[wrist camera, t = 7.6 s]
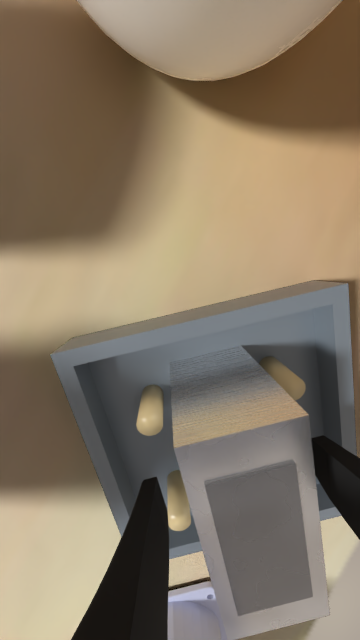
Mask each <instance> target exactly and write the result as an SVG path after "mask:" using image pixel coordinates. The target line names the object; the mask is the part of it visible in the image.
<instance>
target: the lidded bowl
mask: <svg viewBox="0 0 360 640" xmlns="http://www.w3.org/2000/svg"><path fill="white" fill-rule="evenodd" d="M77 2H78V3H79V4H80V6H81V7H82V8H83V9H84V11H85V12H86V13H87V14H88V15H89V16H90V18H91V19H92V20H93V21H94V22H95V23H96V24H97V25H98V26H99V28H100V29H101V30H102V31H103V32H104V33H105V34H106V35H107V36H108V37H109V38H111V39H112V40H113V41H114V42H115V43H117V44H118V45H119V46H120V47H121V48H123V49H124V50H125V51H126V52H128V53H129V54H130V55H131V56H133V57H134V58H136V59H137V60H139V61H141V62H142V63H144V64H146V65H147V66H149V67H151V68H152V69H154V70H157V71H159V72H162V73H164V74H167V75H170V76H172V77H176V78H181V79H186V80H192V81H216V80H220V79H225V78H230V77H235V76H238V75H241V74H244V73H246V72H248V71H251V70H253V69H256V68H258V67H261V66H263V65H265V64H266V63H268V62H270V61H271V60H273V59H274V58H276V57H277V56H279V55H281V54H282V53H284V52H285V51H287V50H288V49H289V48H291V47H292V46H293V45H295V44H296V43H297V42H299V41H300V40H301V39H303V38H304V37H305V36H306V35H307V34H308V33H309V32H311V31H312V30H313V29H314V28H315V27H316V26H317V25H318V24H320V23H321V22H322V21H323V20H324V19H325V18H326V17H327V16H328V15H329V14H330V13H331V12H332V11H333V10H334V9H335V8H336V7H337V6H338V5H339V4H340V3H341V2H342V0H77Z"/></svg>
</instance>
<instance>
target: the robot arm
mask: <svg viewBox="0 0 360 640" xmlns="http://www.w3.org/2000/svg"><path fill="white" fill-rule="evenodd" d="M311 440H312V449H313V459H314V468H315V476H316V477H317V479H318V481H319V482H320V484H321V486H322V487H323V489H324V491H325V492H326V494H327V495H328V497H329V499H330V500H331V502H332V503H333V504H334V506H335V507H336V508H337V510H338V511H339V512H340V514H341V515H342V517H343V518H344V519H345V521H346V522H347V523H348V525H349V526H350V527H351V529H352V530H353V531H354V533H355V534H356V535H357V537H358V538H359V539H360V458H359V457H357V456H355V455H354V454H352V453H351V452H349V451H348V450H346V449H344V448H343V447H341V446H340V445H338V444H337V443H335V442H334V441H332V440H330V439H329V438H327V437H326V436H324V435H322V436H318V437H314V438H311ZM168 583H169V525H168V511H167V507H166V504H165V501H164V498H163V495H162V492H161V488H160V485H159V482H158V479H157V477H153V478H149V479H145V480H143V482H142V484H141V487H140V490H139V493H138V496H137V499H136V502H135V504H134V507H133V510H132V512H131V515H130V518H129V520H128V523H127V525H126V528H125V530H124V533H123V535H122V538H121V540H120V542H119V545H118V547H117V549H116V552H115V554H114V556H113V558H112V561H111V563H110V565H109V567H108V569H107V572H106V574H105V576H104V578H103V580H102V582H101V584H100V586H99V588H98V590H97V592H96V594H95V596H94V598H93V600H92V602H91V604H90V606H89V608H88V610H87V611H86V613H85V615H84V617H83V619H82V621H81V622H80V624H79V626H78V628H77V630H76V632H75V633H74V635H73V637H72V639H71V640H228V639H227V635H226V632H225V628H224V625H223V621H222V618H221V614H220V611H219V607H218V604H217V600H216V596H215V593H214V589H213V586H212V582H211V581H206V582H202V583H199V584H195V585H191V586H187V587H183V588H179V589H175V590H171V591H168Z"/></svg>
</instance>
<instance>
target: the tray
mask: <svg viewBox="0 0 360 640" xmlns="http://www.w3.org/2000/svg"><path fill="white" fill-rule="evenodd" d="M240 345H241V346H242V347H243V348H244V349H245V350H246V351H247V352H248V353H249V354H250V355H251V357H252V358H253V359H254V360H255V361H256V362H257V363H258V364H259V365H260V366H261V367H262V368H263V369H264V370H265V371H266V372H267V373H268V374H269V375H270V376H271V377H272V378H273V379H274V380H275V381H276V382H277V383H278V384H279V385H280V386H281V387H282V388H283V389H284V390H285V391H286V392H287V393H288V394H289V395H290V396H291V397H292V398H293V399H294V400H295V401H296V402H297V403H298V404H299V405H300V406H301V407H302V408H303V409H304V410H305V412H306V413H307V414H308V415H309V421H310V430H311V438H314V437H318V436H322V435H324V436H326V437H327V438H329V439H330V440H332V441H334V442H335V443H337V444H338V445H340V446H341V447H343V448H344V449H346V450H348V451H349V452H351V453H352V454H354V455H355V456H357V450H356V429H355V409H354V389H353V369H352V348H351V328H350V308H349V288H348V283H339V282H327V281H315V280H313V281H309V282H304V283H300V284H296V285H292V286H288V287H283V288H279V289H275V290H271V291H267V292H262V293H258V294H254V295H250V296H246V297H241V298H237V299H233V300H229V301H225V302H220V303H216V304H212V305H208V306H204V307H200V308H195V309H191V310H187V311H183V312H179V313H174V314H170V315H166V316H162V317H158V318H153V319H149V320H145V321H141V322H137V323H132V324H128V325H124V326H120V327H116V328H111V329H107V330H103V331H99V332H95V333H90V334H86V335H82V336H78V337H74V338H71V339H70V340H69V341H67V342H66V343H65V344H63V345H62V346H61V347H59V348H58V349H57V350H55V351H54V352H53V353H51V354H50V356H51V358H52V361H53V363H54V366H55V369H56V371H57V374H58V376H59V379H60V381H61V384H62V386H63V389H64V391H65V394H66V397H67V399H68V402H69V404H70V407H71V409H72V412H73V414H74V417H75V419H76V422H77V425H78V427H79V430H80V432H81V435H82V437H83V440H84V442H85V445H86V447H87V450H88V453H89V455H90V458H91V460H92V463H93V465H94V468H95V470H96V473H97V475H98V478H99V481H100V483H101V486H102V488H103V491H104V493H105V496H106V498H107V501H108V503H109V506H110V509H111V511H112V514H113V516H114V519H115V521H116V524H117V526H118V529H119V532H120V534H121V537H122V535H123V533H124V530H125V528H126V525H127V523H128V520H129V518H130V515H131V512H132V510H133V507H134V504H135V502H136V499H137V496H138V493H139V490H140V487H141V484H142V482H143V480H145V479H149V478H153V477H157V479H158V482H159V485H160V488H161V492H162V495H163V498H164V501H165V504H166V507H167V511H168V525H169V559H172V558H176V557H180V556H184V555H188V554H192V553H196V552H200V551H203V550H202V547H201V543H200V540H199V536H198V533H197V529H196V525H195V522H194V518H193V515H192V511H191V508H190V504H189V501H188V497H187V494H186V490H185V486H184V483H183V479H182V476H181V472H180V469H179V465H178V462H177V458H176V455H175V451H174V444H173V424H172V405H171V385H170V365H169V363H170V362H174V361H178V360H182V359H186V358H190V357H195V356H199V355H203V354H207V353H211V352H215V351H219V350H224V349H228V348H232V347H236V346H240ZM315 478H316V487H317V497H318V506H319V516H320V521H322V520H326V519H330V518H334V517H338V516H342V515H341V514H340V512H339V511H338V510H337V508H336V507H335V506H334V504H333V503H332V502H331V500H330V499H329V497H328V495H327V494H326V492H325V491H324V489H323V487H322V486H321V484H320V482H319V481H318V479H317V477H316V476H315Z"/></svg>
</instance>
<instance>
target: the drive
mask: <svg viewBox="0 0 360 640" xmlns="http://www.w3.org/2000/svg"><path fill="white" fill-rule="evenodd" d="M169 365H170V385H171V405H172V424H173V444H174V451H175V455H176V458H177V462H178V465H179V469H180V472H181V476H182V479H183V483H184V486H185V490H186V494H187V497H188V501H189V504H190V508H191V511H192V515H193V518H194V522H195V525H196V529H197V533H198V536H199V540H200V543H201V547H202V550H203V554H204V557H205V561H206V565H207V568H208V572H209V575H210V579H211V582H212V586H213V589H214V593H215V596H216V600H217V604H218V607H219V611H220V614H221V618H222V621H223V625H224V628H225V632H226V635H227V639H228V640H236V639H240V638H244V637H248V636H252V635H255V634H259V633H263V632H267V631H271V630H275V629H279V628H283V627H286V626H290V625H294V624H298V623H302V622H306V621H310V620H313V619H317V618H321V617H325V616H329V615H330V612H329V601H328V592H327V582H326V573H325V563H324V554H323V544H322V535H321V525H320V516H319V506H318V497H317V487H316V478H315V468H314V459H313V449H312V440H311V430H310V421H309V415H308V414H307V413H306V412H305V410H304V409H303V408H302V407H301V406H300V405H299V404H298V403H297V402H296V401H295V400H294V399H293V398H292V397H291V396H290V395H289V394H288V393H287V392H286V391H285V390H284V389H283V388H282V387H281V386H280V385H279V384H278V383H277V382H276V381H275V380H274V379H273V378H272V377H271V376H270V375H269V374H268V373H267V372H266V371H265V370H264V369H263V368H262V367H261V366H260V365H259V364H258V363H257V362H256V361H255V360H254V359H253V358H252V357H251V355H250V354H249V353H248V352H247V351H246V350H245V349H244V348H243V347H242V346H241V345H240V346H236V347H232V348H228V349H224V350H219V351H215V352H211V353H207V354H203V355H199V356H195V357H190V358H186V359H182V360H178V361H174V362H170V363H169Z"/></svg>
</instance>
